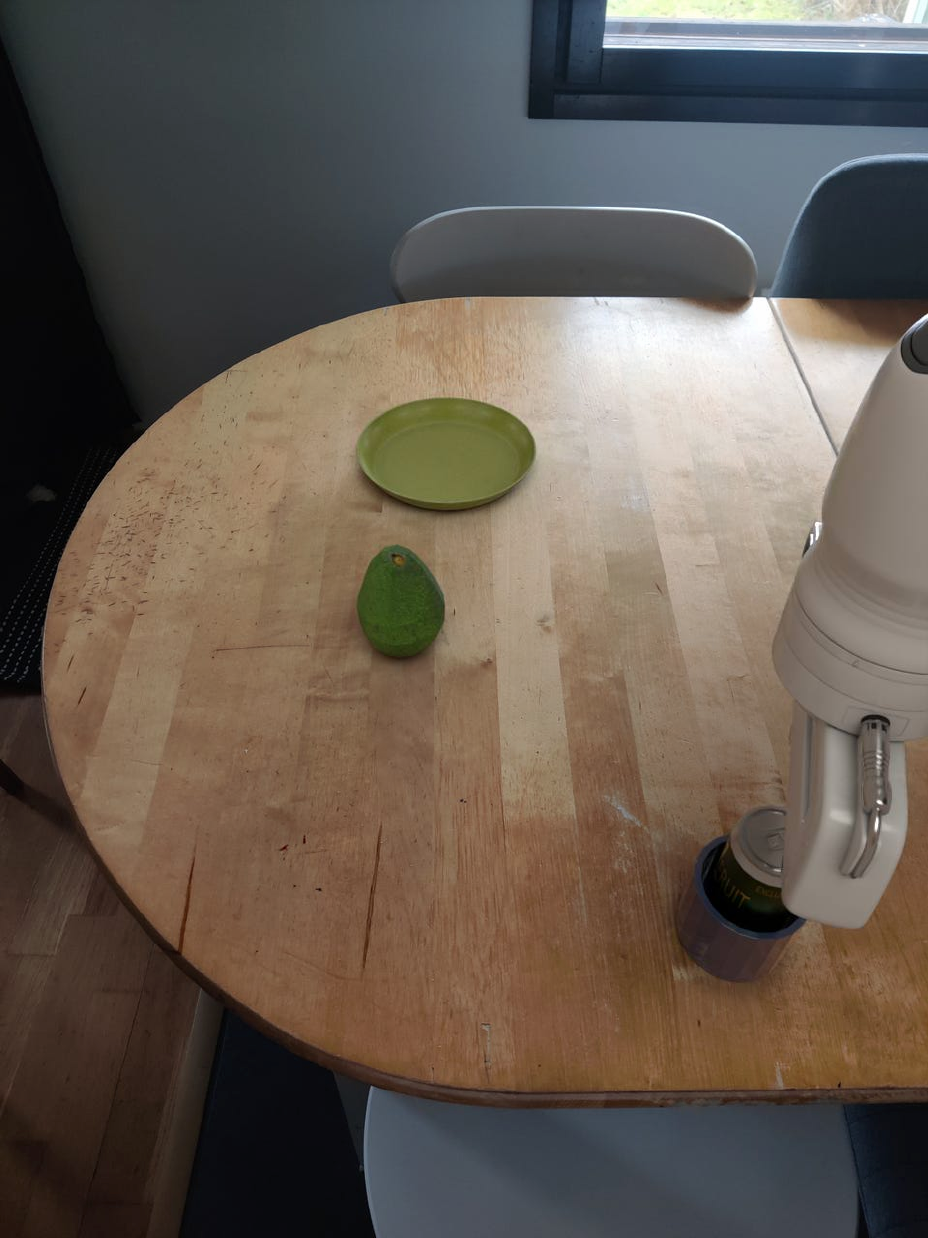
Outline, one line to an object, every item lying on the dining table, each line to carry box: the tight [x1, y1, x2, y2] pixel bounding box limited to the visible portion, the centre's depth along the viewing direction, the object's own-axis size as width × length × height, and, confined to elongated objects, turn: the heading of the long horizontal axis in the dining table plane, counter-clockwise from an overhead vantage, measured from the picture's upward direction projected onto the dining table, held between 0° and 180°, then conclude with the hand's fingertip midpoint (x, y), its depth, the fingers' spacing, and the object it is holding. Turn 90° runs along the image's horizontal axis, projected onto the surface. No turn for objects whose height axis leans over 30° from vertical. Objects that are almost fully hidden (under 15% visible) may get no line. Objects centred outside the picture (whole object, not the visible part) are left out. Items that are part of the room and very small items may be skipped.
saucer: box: [355, 396, 537, 511], centre depth 100 cm, size 21×21×3 cm
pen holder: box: [675, 832, 808, 983], centre depth 59 cm, size 8×8×7 cm
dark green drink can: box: [705, 804, 791, 933], centre depth 57 cm, size 5×5×12 cm
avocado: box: [356, 544, 446, 659], centre depth 77 cm, size 8×8×12 cm
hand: (799, 805), depth 50 cm, fingers open, 8 cm apart
